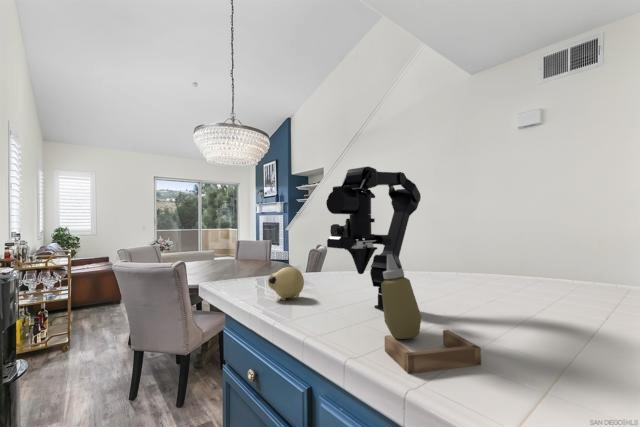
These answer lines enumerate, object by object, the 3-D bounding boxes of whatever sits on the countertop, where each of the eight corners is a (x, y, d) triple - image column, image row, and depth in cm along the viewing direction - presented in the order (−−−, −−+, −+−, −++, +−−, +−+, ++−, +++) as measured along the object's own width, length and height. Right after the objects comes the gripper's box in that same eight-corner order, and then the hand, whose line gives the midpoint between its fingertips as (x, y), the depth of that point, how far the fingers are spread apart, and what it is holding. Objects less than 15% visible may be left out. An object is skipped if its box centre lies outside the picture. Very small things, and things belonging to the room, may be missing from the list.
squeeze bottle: (424, 340, 61) (405, 252, 64) (384, 342, 64) (368, 258, 67) (425, 328, 69) (408, 250, 71) (390, 331, 72) (375, 256, 74)
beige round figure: (272, 294, 106) (272, 264, 107) (305, 295, 105) (305, 264, 106) (264, 302, 97) (264, 268, 97) (301, 302, 96) (301, 269, 96)
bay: (384, 350, 60) (384, 335, 60) (448, 344, 63) (448, 329, 63) (408, 373, 51) (407, 355, 51) (480, 364, 54) (480, 347, 54)
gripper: (363, 215, 92) (363, 267, 91) (313, 214, 80) (314, 273, 80) (392, 215, 83) (392, 271, 83) (341, 214, 72) (342, 279, 71)
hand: (360, 273), depth 79 cm, fingers closed
